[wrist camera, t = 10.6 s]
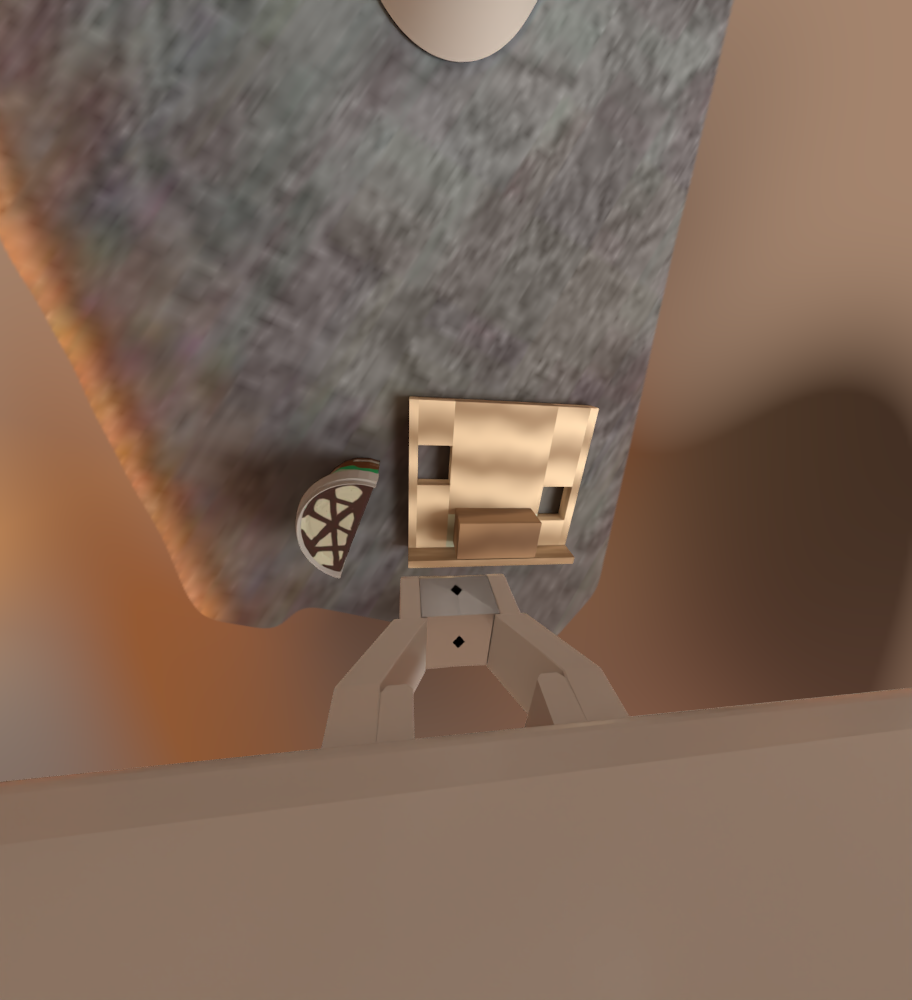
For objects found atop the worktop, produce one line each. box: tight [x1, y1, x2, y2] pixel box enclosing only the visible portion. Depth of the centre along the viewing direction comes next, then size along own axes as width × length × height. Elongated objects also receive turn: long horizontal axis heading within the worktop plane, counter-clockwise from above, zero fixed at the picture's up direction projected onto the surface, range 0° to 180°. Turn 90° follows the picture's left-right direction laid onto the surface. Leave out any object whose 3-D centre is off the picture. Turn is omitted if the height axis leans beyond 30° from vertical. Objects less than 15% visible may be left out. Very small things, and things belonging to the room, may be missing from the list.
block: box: [453, 508, 542, 559], centre depth 42 cm, size 5×10×4 cm, turn 86°
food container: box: [296, 458, 380, 579], centre depth 36 cm, size 12×6×10 cm, turn 155°
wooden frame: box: [408, 396, 599, 568], centre depth 40 cm, size 20×22×5 cm
